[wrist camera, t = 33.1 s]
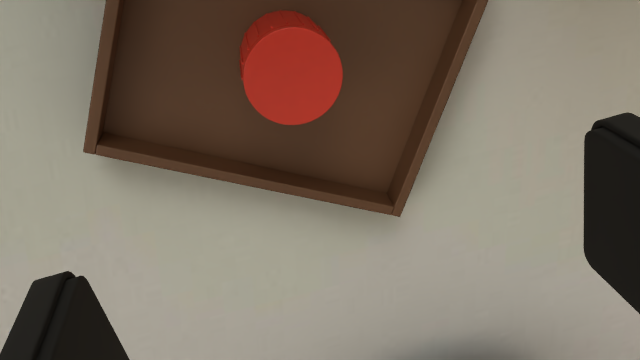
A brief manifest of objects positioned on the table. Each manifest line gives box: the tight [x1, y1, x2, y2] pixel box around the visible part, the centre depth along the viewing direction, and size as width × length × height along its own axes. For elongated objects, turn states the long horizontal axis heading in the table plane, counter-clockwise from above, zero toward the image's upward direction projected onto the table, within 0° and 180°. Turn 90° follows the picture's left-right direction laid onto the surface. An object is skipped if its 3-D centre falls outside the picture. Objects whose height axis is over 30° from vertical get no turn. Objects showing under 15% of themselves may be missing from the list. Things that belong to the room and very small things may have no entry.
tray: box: [83, 0, 488, 217], centre depth 25 cm, size 15×12×2 cm
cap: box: [239, 10, 343, 125], centre depth 24 cm, size 4×4×4 cm
